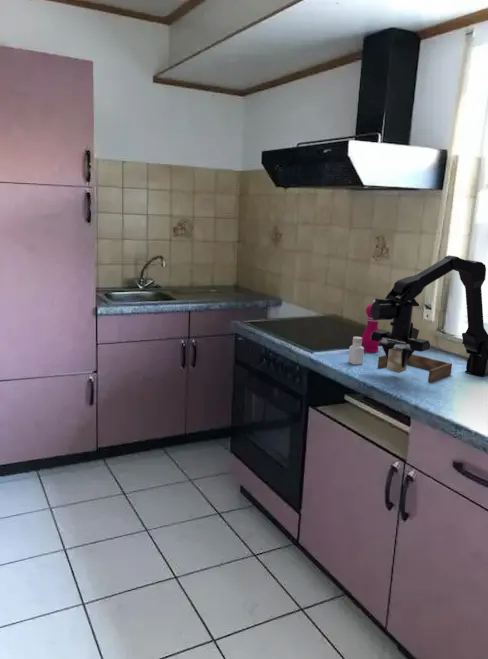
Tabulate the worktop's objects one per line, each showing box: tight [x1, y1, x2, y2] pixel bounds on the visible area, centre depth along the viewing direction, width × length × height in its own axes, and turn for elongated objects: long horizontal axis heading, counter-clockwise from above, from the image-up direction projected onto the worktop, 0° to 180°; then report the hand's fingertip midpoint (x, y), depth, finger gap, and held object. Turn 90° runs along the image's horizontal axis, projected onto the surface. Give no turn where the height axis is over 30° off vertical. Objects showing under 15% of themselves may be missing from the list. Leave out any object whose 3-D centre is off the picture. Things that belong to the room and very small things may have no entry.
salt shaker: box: [348, 336, 365, 366], centre depth 197 cm, size 4×4×10 cm
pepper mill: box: [361, 299, 381, 354], centre depth 215 cm, size 7×7×20 cm
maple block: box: [386, 346, 408, 374], centre depth 182 cm, size 4×4×7 cm
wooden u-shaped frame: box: [377, 353, 453, 384], centre depth 192 cm, size 20×14×4 cm
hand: (396, 365), depth 183 cm, fingers closed on maple block, 4 cm apart
